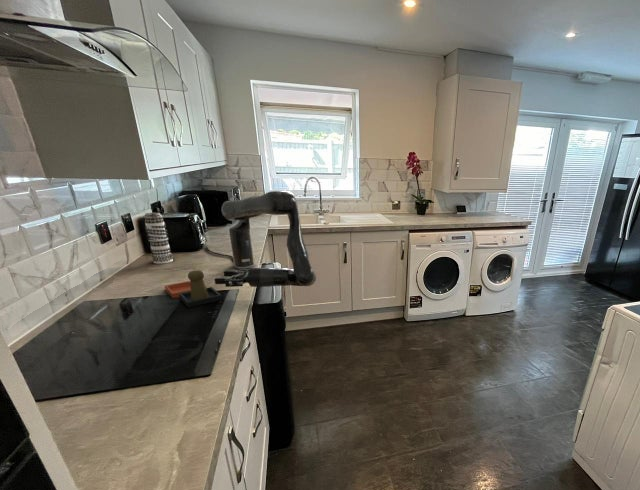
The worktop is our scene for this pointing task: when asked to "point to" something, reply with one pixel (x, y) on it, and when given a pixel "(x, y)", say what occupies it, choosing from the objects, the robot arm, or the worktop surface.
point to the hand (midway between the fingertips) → (219, 277)
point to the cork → (197, 285)
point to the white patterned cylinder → (158, 238)
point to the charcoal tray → (190, 303)
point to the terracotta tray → (178, 288)
